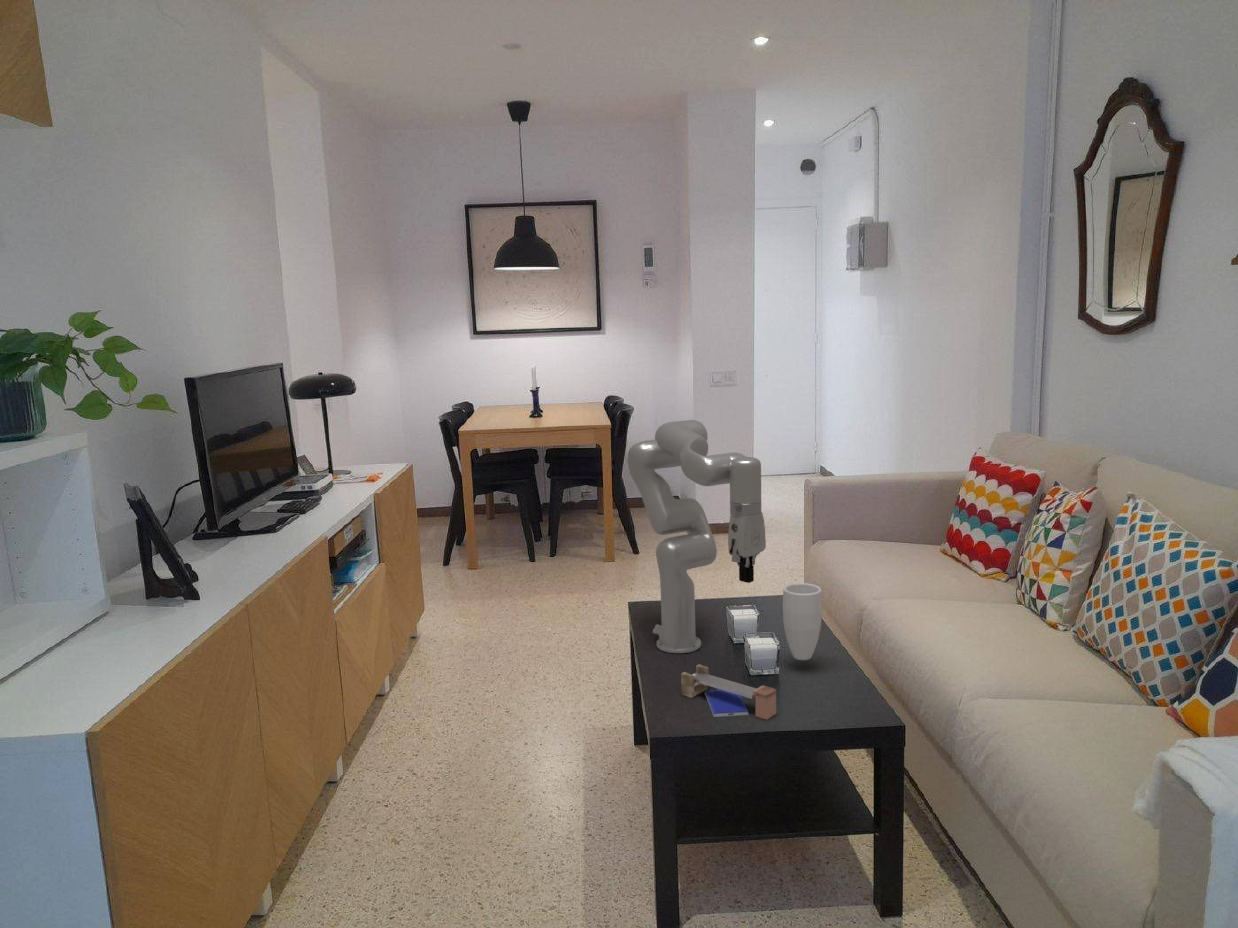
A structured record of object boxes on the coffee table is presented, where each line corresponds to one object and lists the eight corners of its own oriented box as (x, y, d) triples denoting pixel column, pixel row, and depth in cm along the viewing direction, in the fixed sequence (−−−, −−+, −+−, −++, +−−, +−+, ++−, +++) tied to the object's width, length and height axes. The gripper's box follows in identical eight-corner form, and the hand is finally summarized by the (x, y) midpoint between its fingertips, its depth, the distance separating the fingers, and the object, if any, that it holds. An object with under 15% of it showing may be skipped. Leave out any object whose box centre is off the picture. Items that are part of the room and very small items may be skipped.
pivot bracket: (681, 694, 205) (681, 673, 204) (699, 684, 210) (699, 664, 209) (691, 697, 203) (690, 676, 202) (709, 687, 208) (708, 667, 207)
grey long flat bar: (688, 680, 205) (687, 675, 205) (697, 675, 208) (697, 669, 208) (751, 700, 193) (751, 694, 192) (761, 694, 195) (761, 688, 195)
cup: (773, 667, 219) (773, 588, 216) (797, 656, 226) (797, 579, 223) (807, 678, 212) (807, 597, 208) (830, 666, 218) (831, 587, 215)
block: (753, 715, 193) (753, 690, 192) (763, 709, 196) (762, 685, 195) (766, 719, 190) (766, 695, 189) (776, 713, 193) (776, 689, 192)
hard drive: (704, 689, 205) (713, 712, 193) (737, 687, 205) (748, 710, 193) (704, 695, 205) (713, 719, 193) (737, 693, 206) (748, 717, 193)
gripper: (741, 515, 194) (741, 591, 197) (775, 504, 205) (776, 576, 208) (714, 512, 199) (716, 585, 202) (750, 501, 210) (750, 571, 213)
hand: (746, 581), depth 205 cm, fingers closed
